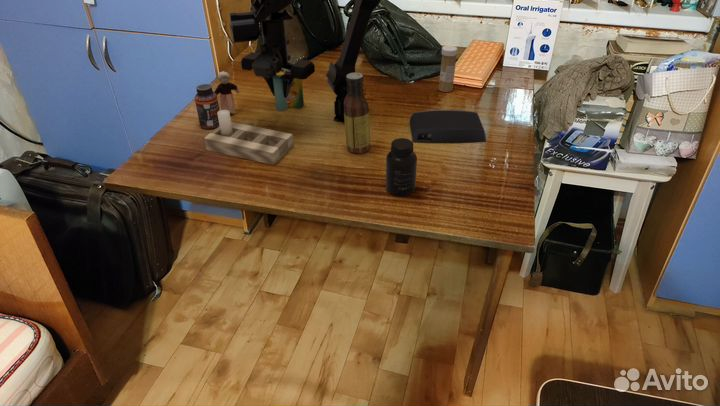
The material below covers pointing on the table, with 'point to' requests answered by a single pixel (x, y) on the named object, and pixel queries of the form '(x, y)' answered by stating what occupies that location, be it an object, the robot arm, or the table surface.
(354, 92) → the sauce bottle
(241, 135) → the hole block
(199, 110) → the supplement bottle
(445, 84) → the sprinkles bottle
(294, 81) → the crayon box
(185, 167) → the table surface
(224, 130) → the cream peg
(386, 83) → the table surface
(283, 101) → the teal peg
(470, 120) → the external hard drive
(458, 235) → the table surface
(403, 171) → the supplement bottle
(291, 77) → the robot arm
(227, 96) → the grandmother figurine
